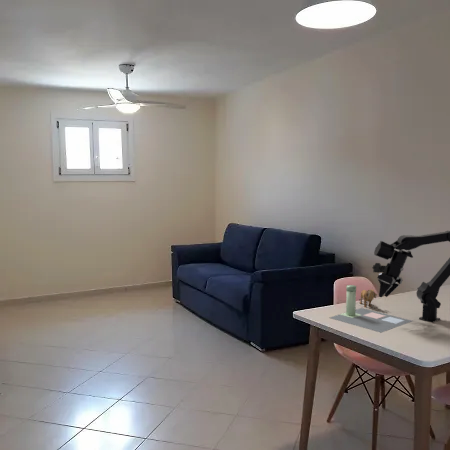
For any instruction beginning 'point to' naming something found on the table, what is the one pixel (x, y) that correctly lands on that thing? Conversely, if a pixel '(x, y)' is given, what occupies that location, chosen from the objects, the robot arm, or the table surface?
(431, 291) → the robot arm
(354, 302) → the pale green cylinder
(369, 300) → the lion figurine
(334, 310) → the table surface
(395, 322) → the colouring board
